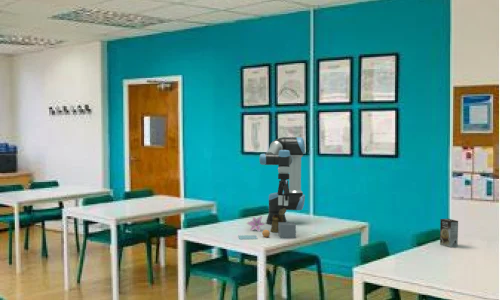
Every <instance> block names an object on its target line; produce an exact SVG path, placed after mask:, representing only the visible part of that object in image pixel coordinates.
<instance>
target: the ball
mask: <svg viewBox="0 0 500 300" xmlns="http://www.w3.org/2000/svg"><path fill="white" fill-rule="evenodd" d="M270 232H271V231H270V230H268V229H264V230H262V232H261V233H262V236H263V237H264V238H268V237H269V236H270Z"/></svg>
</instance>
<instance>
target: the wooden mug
mask: <svg viewBox="0 0 500 300" xmlns="http://www.w3.org/2000/svg"><path fill="white" fill-rule="evenodd" d="M286 213H287V210H286V208H282V209H280V210H279V212H278V214H279V215H273V218H272V225H271V227H270V232H271V233H278V222H283V215H284V214H286Z"/></svg>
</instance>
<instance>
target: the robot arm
mask: <svg viewBox="0 0 500 300" xmlns="http://www.w3.org/2000/svg"><path fill="white" fill-rule="evenodd" d="M305 153H306V144H305V140H304V138H303V137H299V136H295V137H293V136H292V137H291V136H289V137H279V138H276V139H274V140H272V142H270V145H269V148H268V150H267V151H266V153H261V154H259V164H260V165H264V166H278V168H277V170H278V171H277V172H278V174H277V179H278V180H279V181H278V188H277V192H273V193H270V194H268V215H267V216H266V217H267V218H266V222H265V223H266V224H267V225H271V226H272V218H273V215H279V214H278V212H279V210H280V209H282V208H286V211H302V210H303V208H304V206H305V200H306V199H305V198H306V195H305V194H304V192H303V191H302V180H301V178H302V157H304V154H305ZM285 214H286V213H285ZM285 214H284V215H283V222H288V221H287V218H286V217H287V216H286V215H285Z"/></svg>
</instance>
